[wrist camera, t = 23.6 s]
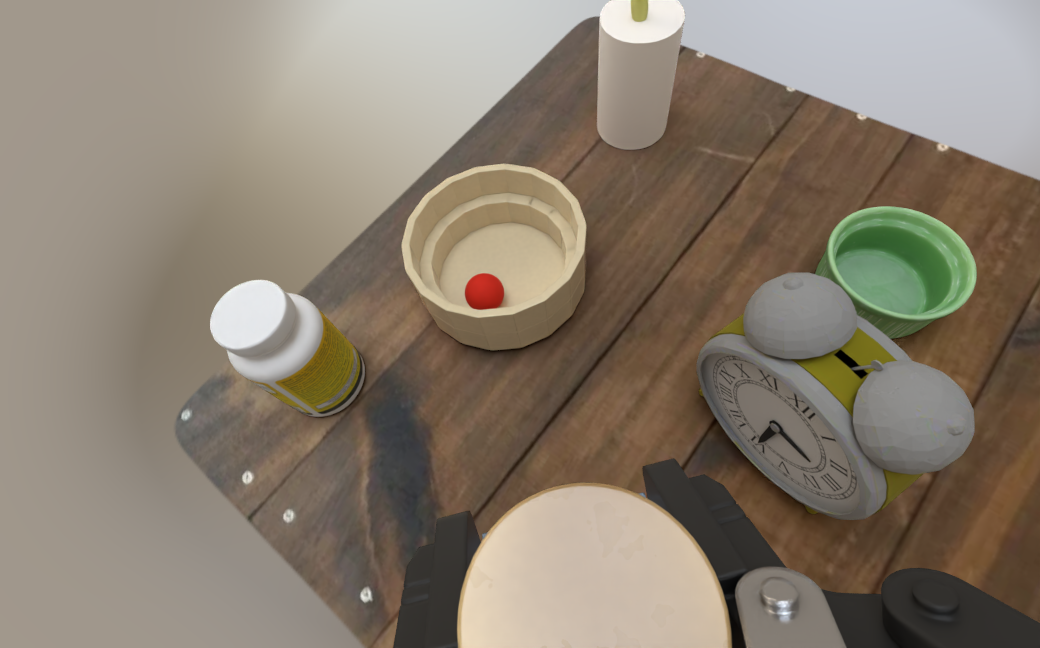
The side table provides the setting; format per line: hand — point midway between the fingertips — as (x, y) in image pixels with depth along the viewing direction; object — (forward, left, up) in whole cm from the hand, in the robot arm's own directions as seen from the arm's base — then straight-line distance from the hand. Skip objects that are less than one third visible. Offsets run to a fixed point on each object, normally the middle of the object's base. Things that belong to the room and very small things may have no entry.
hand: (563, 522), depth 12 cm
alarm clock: (+15, +5, -24) cm, 29 cm away
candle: (+15, +35, -24) cm, 45 cm away
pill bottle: (-15, +17, -24) cm, 33 cm away
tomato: (-2, +20, -22) cm, 30 cm away
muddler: (0, -2, -8) cm, 8 cm away
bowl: (0, +22, -24) cm, 33 cm away
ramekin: (+26, +13, -24) cm, 38 cm away
